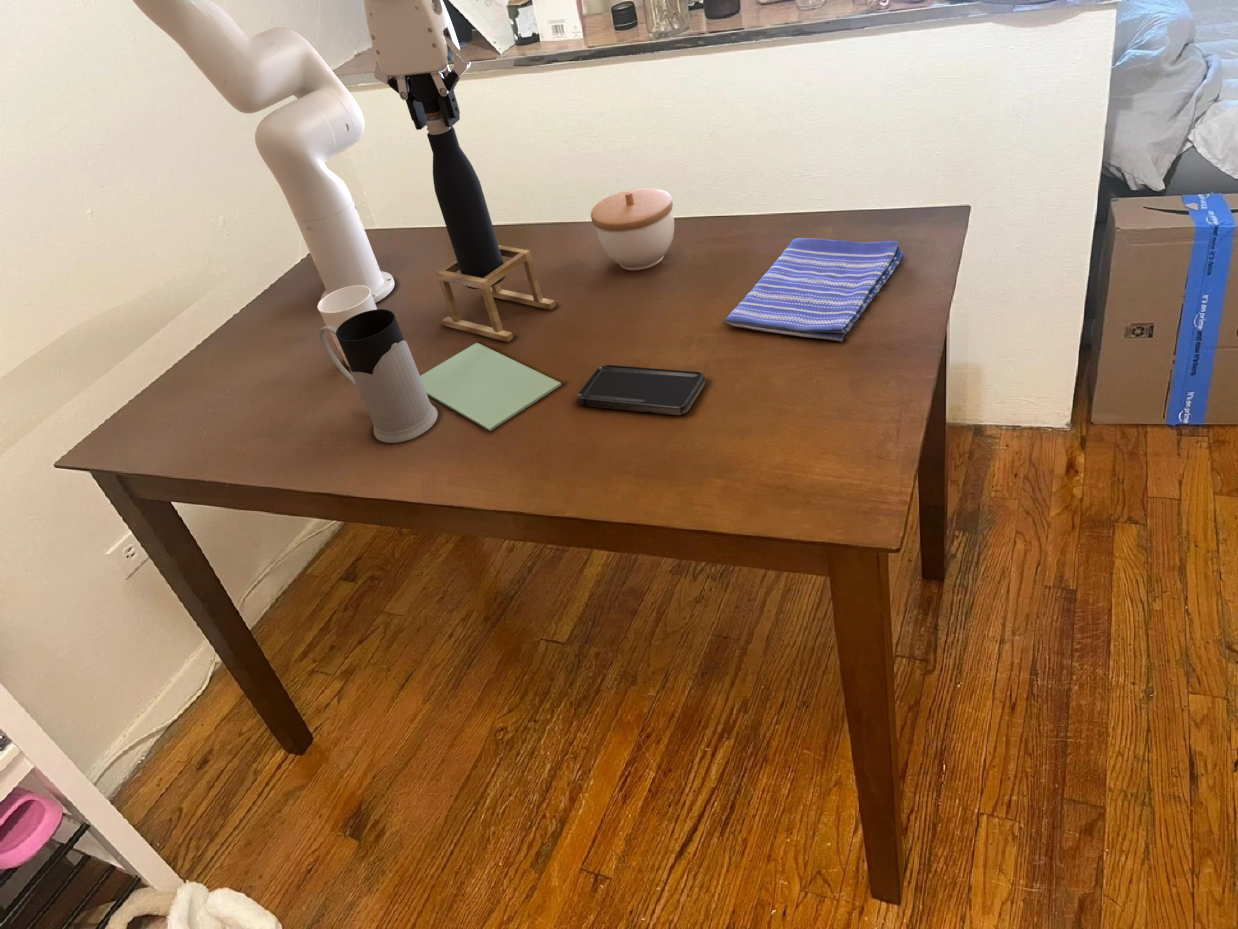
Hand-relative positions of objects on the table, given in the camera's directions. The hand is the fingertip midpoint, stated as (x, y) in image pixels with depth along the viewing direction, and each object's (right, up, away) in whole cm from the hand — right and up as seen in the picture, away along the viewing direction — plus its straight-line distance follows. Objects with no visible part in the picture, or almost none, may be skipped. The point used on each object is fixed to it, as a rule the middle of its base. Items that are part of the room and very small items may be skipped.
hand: (438, 123), depth 127 cm
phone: (+27, -37, -7) cm, 46 cm away
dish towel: (+52, -22, +5) cm, 56 cm away
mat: (+6, -35, +3) cm, 35 cm away
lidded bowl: (+28, -13, +23) cm, 39 cm away
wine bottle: (+4, -18, +14) cm, 23 cm away
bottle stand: (+6, -23, +18) cm, 30 cm away
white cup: (-13, -30, +16) cm, 36 cm away
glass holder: (-6, -40, 0) cm, 40 cm away
